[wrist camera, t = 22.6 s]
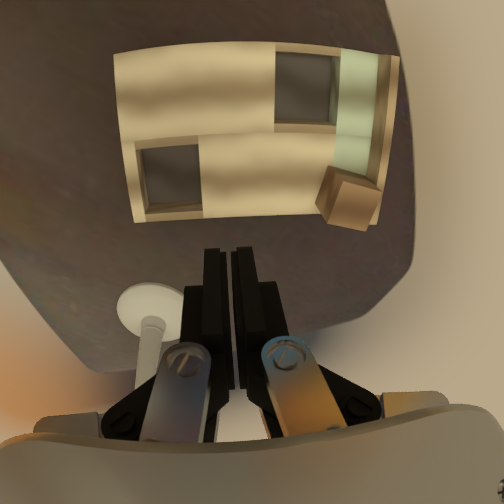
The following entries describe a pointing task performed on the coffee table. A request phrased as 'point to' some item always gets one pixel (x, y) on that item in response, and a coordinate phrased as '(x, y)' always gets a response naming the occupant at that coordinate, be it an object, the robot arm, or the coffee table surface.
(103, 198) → the coffee table surface
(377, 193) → the walnut block
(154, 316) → the candlestick
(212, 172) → the board
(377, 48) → the coffee table surface
